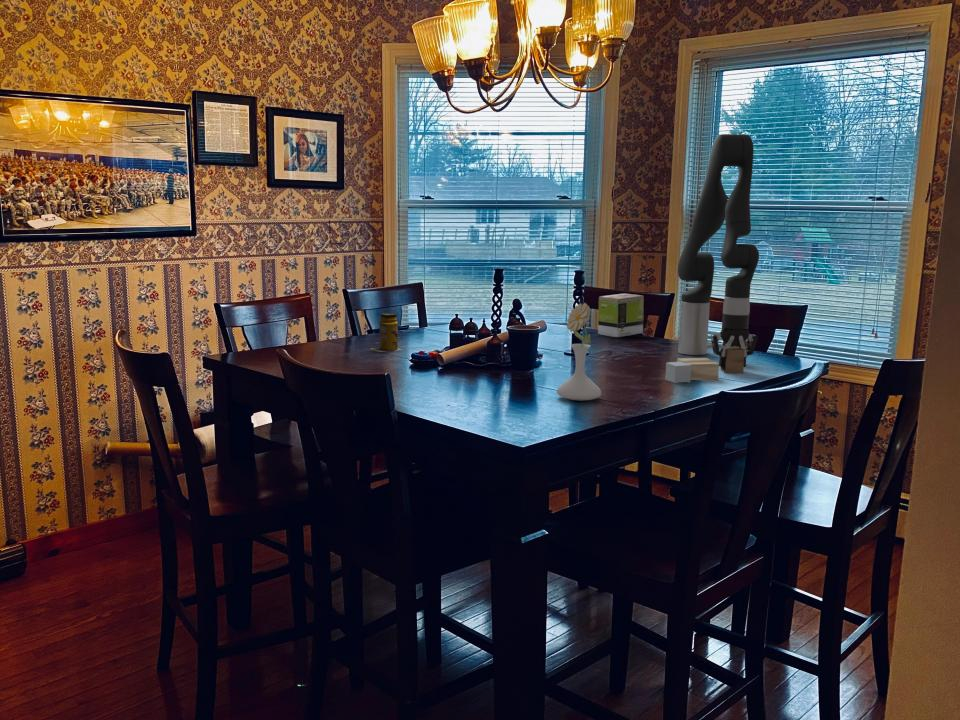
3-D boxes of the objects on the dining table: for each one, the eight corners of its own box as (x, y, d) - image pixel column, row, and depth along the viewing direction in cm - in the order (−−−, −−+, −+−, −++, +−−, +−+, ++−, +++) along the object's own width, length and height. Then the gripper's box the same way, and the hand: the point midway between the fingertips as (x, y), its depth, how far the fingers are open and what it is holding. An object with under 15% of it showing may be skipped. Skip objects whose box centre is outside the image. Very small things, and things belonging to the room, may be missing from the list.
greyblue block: (665, 379, 238) (666, 362, 237) (680, 378, 240) (681, 361, 239) (674, 383, 234) (675, 366, 233) (690, 382, 235) (691, 365, 234)
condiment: (402, 350, 278) (402, 314, 276) (380, 352, 273) (380, 316, 271) (391, 346, 284) (391, 311, 282) (369, 349, 279) (369, 313, 277)
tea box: (623, 330, 326) (624, 292, 323) (643, 334, 318) (645, 295, 315) (596, 334, 316) (598, 295, 313) (617, 338, 309) (619, 298, 306)
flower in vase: (553, 393, 219) (556, 298, 214) (596, 393, 220) (600, 298, 215) (561, 405, 206) (564, 304, 202) (607, 405, 207) (611, 305, 202)
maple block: (676, 375, 246) (677, 358, 245) (705, 374, 247) (706, 358, 246) (687, 381, 237) (688, 364, 236) (717, 381, 238) (719, 363, 237)
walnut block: (720, 370, 253) (722, 347, 251) (737, 370, 253) (738, 347, 252) (726, 373, 248) (728, 350, 246) (742, 373, 248) (744, 350, 247)
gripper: (755, 310, 251) (750, 366, 254) (708, 310, 250) (704, 366, 254) (764, 314, 244) (760, 371, 247) (716, 313, 243) (712, 371, 246)
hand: (731, 368), depth 250 cm, fingers closed on walnut block, 5 cm apart
